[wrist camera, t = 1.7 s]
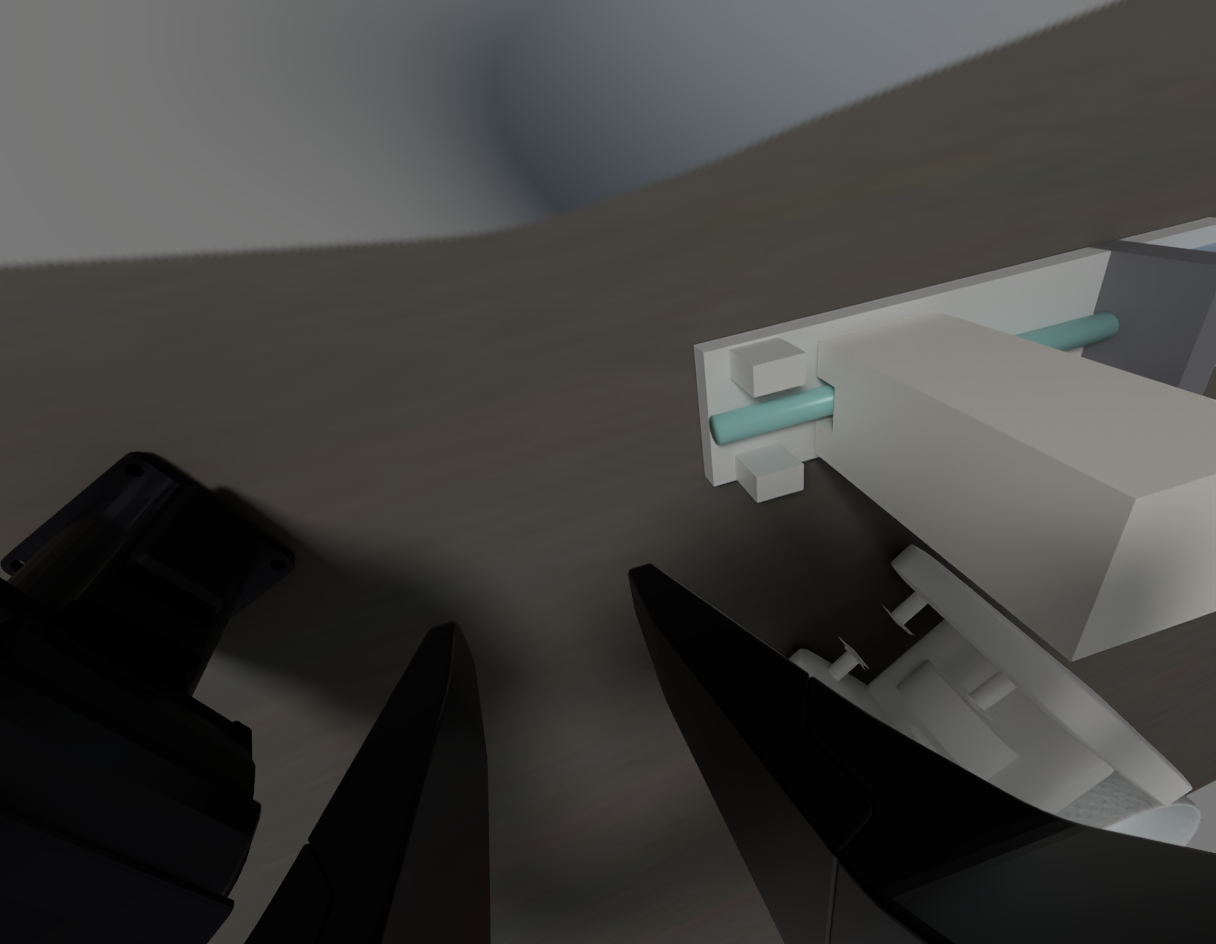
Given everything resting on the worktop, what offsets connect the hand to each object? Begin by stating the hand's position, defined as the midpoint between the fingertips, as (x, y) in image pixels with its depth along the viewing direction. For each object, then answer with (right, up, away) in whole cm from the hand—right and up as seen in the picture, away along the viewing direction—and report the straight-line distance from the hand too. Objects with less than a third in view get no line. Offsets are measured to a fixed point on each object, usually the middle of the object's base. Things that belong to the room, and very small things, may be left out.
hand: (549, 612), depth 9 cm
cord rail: (+16, +8, +15) cm, 24 cm away
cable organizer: (+18, -8, +25) cm, 32 cm away
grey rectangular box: (+12, +6, +14) cm, 19 cm away
